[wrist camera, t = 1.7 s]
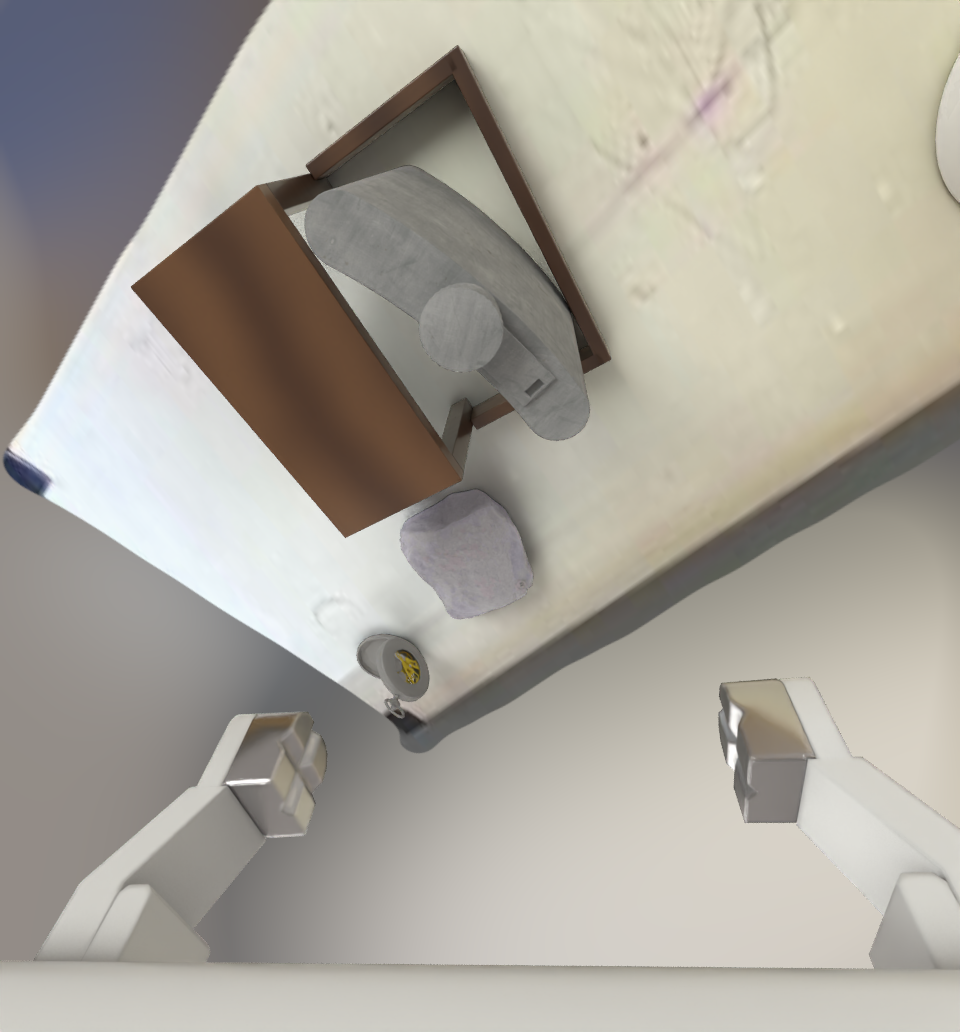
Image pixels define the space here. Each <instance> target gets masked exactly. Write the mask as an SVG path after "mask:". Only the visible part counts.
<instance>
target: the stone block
mask: <svg viewBox="0 0 960 1032" xmlns="http://www.w3.org/2000/svg"><path fill="white" fill-rule="evenodd" d="M400 537H401V538H400V543H401V550H402V551H403V553H404V555H405V556H406V558H407V560H408V562H409V563H410V565H411V566H412V567H413V569H414V570H415V571H416V572H417V573H418V575H419V576H420V577H421V578H422V579H423V580H424V581H425V582H427V583H428V584H429V585H430V586H431V587H432V588H433V589H434V590H435V591H436V593H437V594H438V596H439V598H440V599H441V600H442V601H443V604H444V606H445V608H446V610H447V612H448V614H449V615H450V616H451V617H452V618H455V619H465V618H472V617H474V616H479V615H480V614H483V613H486V612H489V611H492V610H495V609H498V608H501V607H504V606H506V605H509V604H511V603H512V602H514V601H516V600H519V599H520V598H522V597H523V596H525V595H526V594H527V588H529V587H531V586H532V581H533V577H534V576H533V571H532V569H531V566H530V564H529V561H528V559H527V555H526V551H525V550H524V547H523V543H522V539H521V537H520V535H519V532H518V530H517V528H516V526H515V525H514V524H513V523H512V521H511V518H510V517H509V515H508V513H507V511H506V510H505V509H504V508H503V507H502V506H501V505H500V504H498V503H497V502H495V501H494V500H493V499H492V498H490V497H489V496H488V495H487V494H486V493H484V492H482V491H480V490H478V489H474V490H470V491H465V492H460V493H452V494H450V495H449V496H447V497H446V498H445V499H443V500H442V501H440V502H438V503H437V504H435V505H434V506H432V507H430V508H427V509H425V510H424V511H422V512H420V513H418V514H416V515H415V516H413V517H411V518H409V519H408V520H407V521H406V522H405V523H404V524H403V527H402V529H401V531H400Z"/></svg>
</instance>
